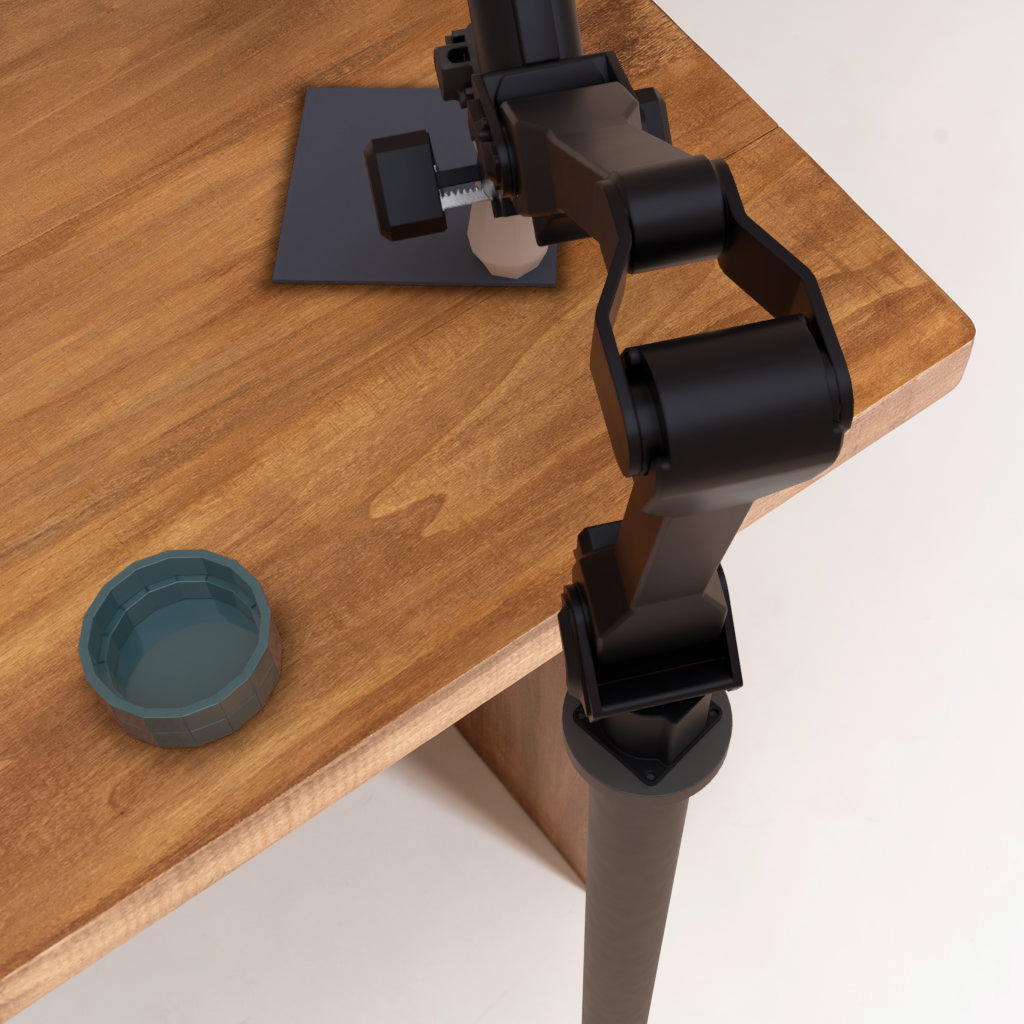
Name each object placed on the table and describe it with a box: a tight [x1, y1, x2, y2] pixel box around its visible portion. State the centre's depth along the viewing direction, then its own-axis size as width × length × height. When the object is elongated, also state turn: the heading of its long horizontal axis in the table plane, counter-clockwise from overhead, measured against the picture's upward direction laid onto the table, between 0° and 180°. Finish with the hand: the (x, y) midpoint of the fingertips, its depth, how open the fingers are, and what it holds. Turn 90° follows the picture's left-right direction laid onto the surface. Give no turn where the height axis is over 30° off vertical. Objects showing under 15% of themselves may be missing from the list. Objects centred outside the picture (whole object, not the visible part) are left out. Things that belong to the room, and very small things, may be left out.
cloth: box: [271, 87, 558, 288], centre depth 106 cm, size 20×20×1 cm
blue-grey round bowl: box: [77, 548, 283, 748], centre depth 83 cm, size 11×11×4 cm
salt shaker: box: [467, 141, 548, 279], centre depth 96 cm, size 6×6×13 cm
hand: (502, 170), depth 97 cm, fingers open, 9 cm apart
